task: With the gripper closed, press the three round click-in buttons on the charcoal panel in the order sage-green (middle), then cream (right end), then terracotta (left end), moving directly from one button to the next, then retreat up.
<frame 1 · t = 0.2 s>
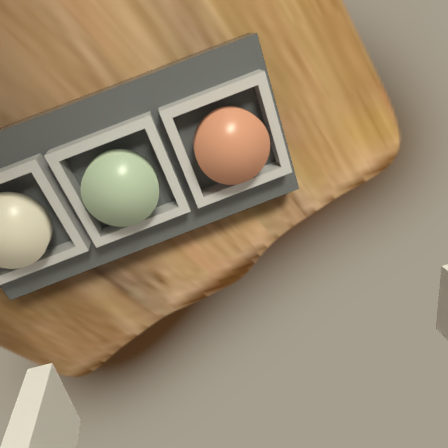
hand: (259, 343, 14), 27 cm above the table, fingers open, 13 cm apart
sage button: (121, 188, 33), point 5 cm above the table, slide at 0.0 cm
button panel: (124, 168, 38), on the table
cream button: (10, 230, 33), point 5 cm above the table, slide at 0.0 cm
terracotta button: (231, 145, 33), point 5 cm above the table, slide at 0.0 cm
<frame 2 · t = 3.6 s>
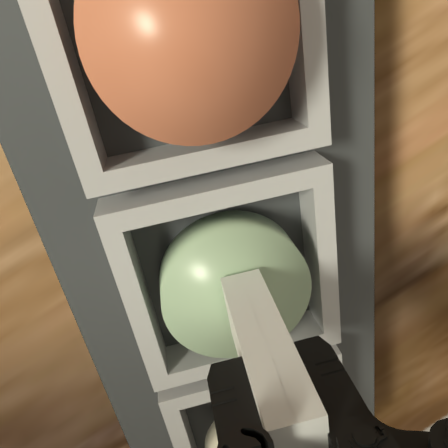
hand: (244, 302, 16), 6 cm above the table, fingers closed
sage button: (233, 286, 17), point 5 cm above the table, slide at 0.9 cm, touching gripper
button panel: (216, 236, 21), on the table
terracotta button: (188, 34, 12), point 5 cm above the table, slide at 0.0 cm
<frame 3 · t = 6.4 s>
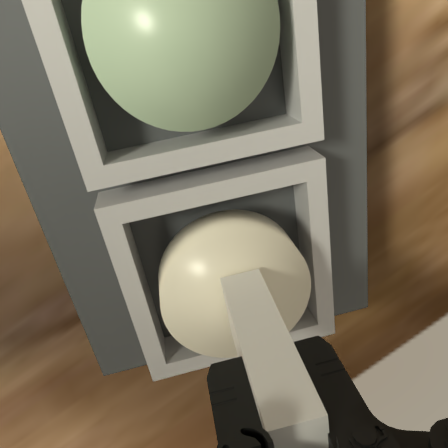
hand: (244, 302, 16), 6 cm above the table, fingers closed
sage button: (182, 32, 13), point 4 cm above the table, slide at 1.1 cm
button panel: (173, 32, 17), on the table
cream button: (233, 285, 17), point 5 cm above the table, slide at 0.3 cm, touching gripper
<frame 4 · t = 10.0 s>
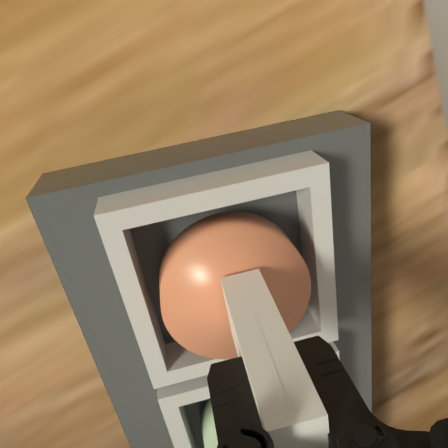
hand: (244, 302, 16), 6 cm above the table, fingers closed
sage button: (259, 428, 21), point 4 cm above the table, slide at 1.1 cm
button panel: (241, 367, 25), on the table
terracotta button: (233, 287, 17), point 5 cm above the table, slide at 0.7 cm, touching gripper
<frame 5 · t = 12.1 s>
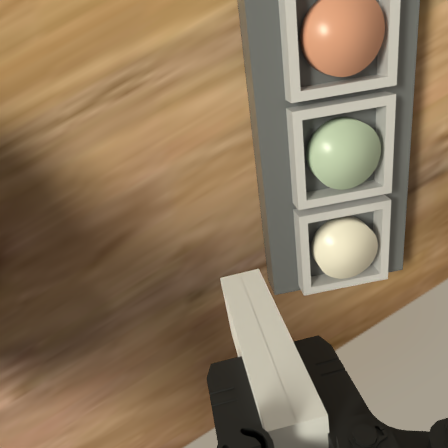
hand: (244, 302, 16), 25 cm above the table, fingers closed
sage button: (342, 153, 36), point 4 cm above the table, slide at 1.1 cm
button panel: (325, 141, 39), on the table
cream button: (343, 247, 40), point 4 cm above the table, slide at 1.1 cm
terracotta button: (341, 34, 31), point 4 cm above the table, slide at 1.1 cm
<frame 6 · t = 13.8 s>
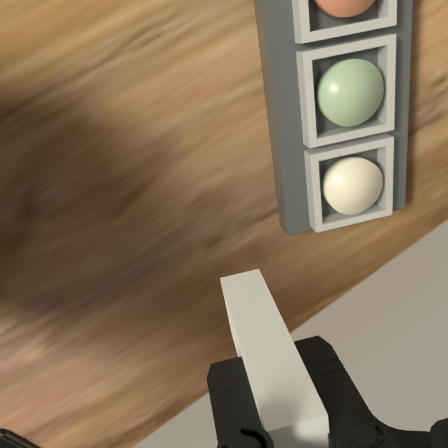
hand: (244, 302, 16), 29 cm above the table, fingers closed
sage button: (349, 92, 39), point 4 cm above the table, slide at 1.1 cm
button panel: (330, 87, 43), on the table
cream button: (351, 185, 43), point 4 cm above the table, slide at 1.1 cm
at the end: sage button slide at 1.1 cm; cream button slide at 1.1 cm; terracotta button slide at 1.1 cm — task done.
